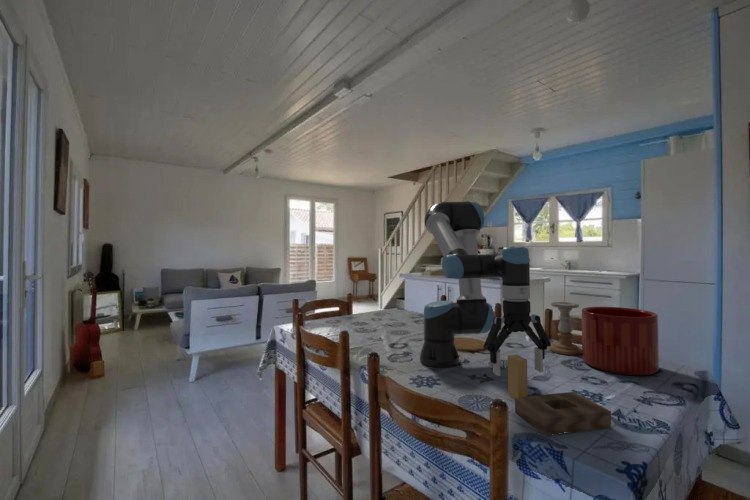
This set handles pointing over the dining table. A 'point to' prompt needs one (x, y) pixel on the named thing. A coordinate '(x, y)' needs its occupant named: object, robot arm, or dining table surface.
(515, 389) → the peg
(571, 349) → the candle holder
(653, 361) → the planter
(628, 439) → the dining table surface
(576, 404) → the socket block
